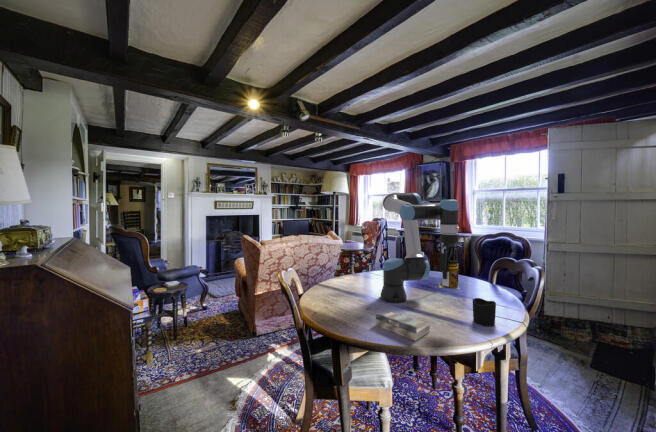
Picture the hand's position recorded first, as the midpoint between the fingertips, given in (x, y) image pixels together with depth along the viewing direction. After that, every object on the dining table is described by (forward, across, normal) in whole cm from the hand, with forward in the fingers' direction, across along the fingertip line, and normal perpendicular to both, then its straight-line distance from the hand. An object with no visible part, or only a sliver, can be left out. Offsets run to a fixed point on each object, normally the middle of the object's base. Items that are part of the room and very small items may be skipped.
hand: (449, 284), depth 122 cm
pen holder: (+19, +14, -10) cm, 26 cm away
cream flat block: (+19, -19, +13) cm, 29 cm away
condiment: (+1, 0, 0) cm, 1 cm away
